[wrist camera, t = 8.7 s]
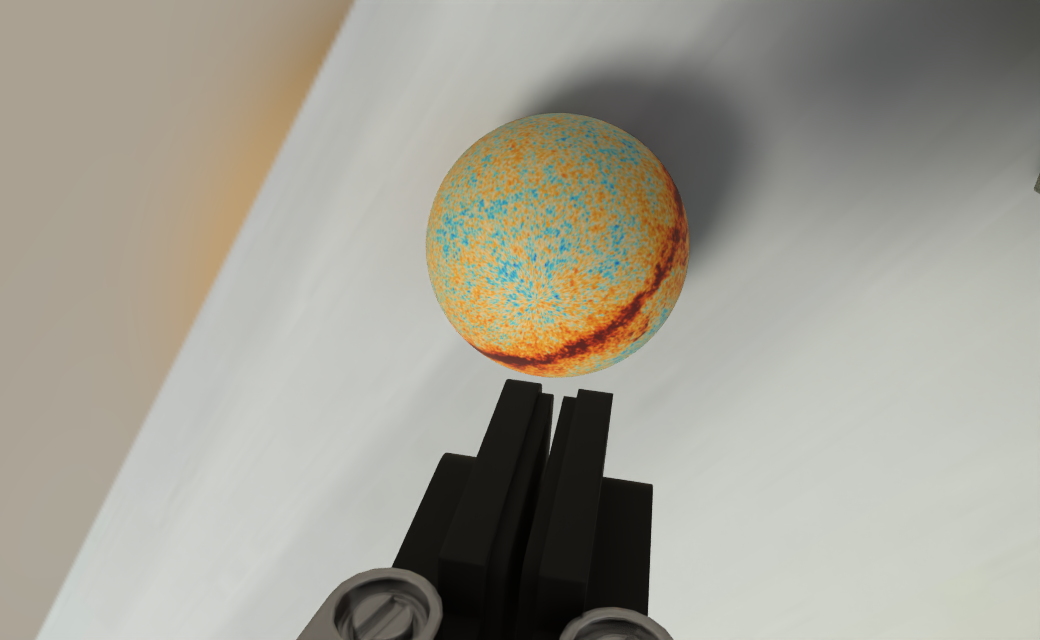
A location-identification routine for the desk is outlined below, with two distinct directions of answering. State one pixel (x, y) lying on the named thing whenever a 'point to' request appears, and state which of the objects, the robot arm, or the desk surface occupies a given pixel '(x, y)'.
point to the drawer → (1037, 185)
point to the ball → (557, 245)
